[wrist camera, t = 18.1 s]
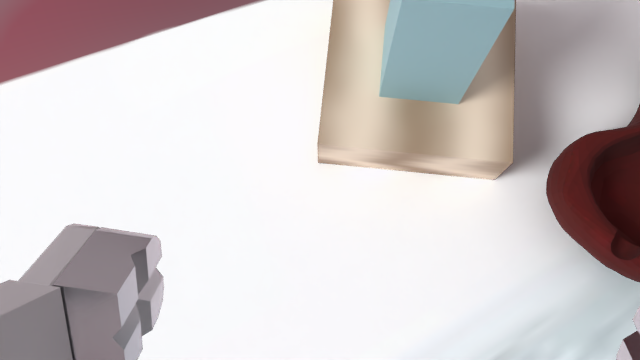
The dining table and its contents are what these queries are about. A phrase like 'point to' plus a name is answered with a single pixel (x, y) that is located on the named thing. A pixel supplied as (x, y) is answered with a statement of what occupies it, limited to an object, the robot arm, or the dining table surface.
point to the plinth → (412, 106)
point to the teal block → (438, 46)
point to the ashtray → (601, 195)
